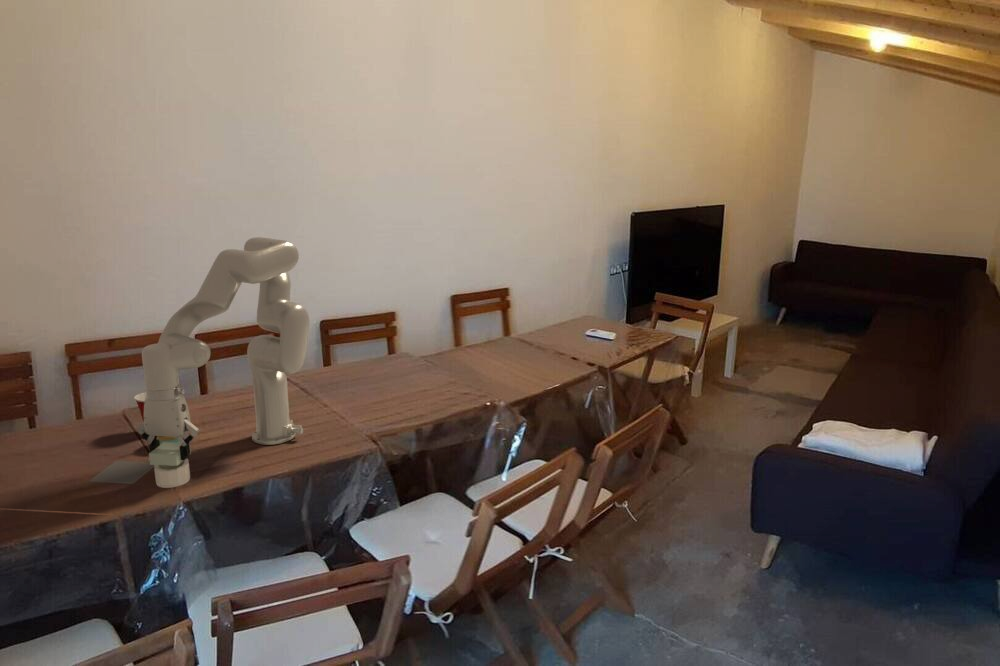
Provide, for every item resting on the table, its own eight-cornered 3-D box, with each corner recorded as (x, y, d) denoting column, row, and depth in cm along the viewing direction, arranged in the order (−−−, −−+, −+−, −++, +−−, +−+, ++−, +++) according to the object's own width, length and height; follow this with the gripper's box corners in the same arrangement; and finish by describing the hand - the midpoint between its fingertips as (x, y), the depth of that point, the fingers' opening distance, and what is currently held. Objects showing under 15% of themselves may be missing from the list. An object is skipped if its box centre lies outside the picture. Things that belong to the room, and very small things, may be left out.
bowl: (196, 475, 177) (194, 457, 176) (180, 489, 170) (178, 472, 168) (166, 473, 178) (164, 456, 176) (150, 488, 170) (147, 470, 169)
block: (191, 453, 175) (189, 443, 174) (177, 465, 168) (175, 455, 167) (165, 452, 175) (163, 441, 175) (150, 464, 169) (148, 453, 168)
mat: (158, 464, 183) (158, 462, 183) (133, 485, 171) (133, 483, 171) (116, 462, 183) (116, 460, 183) (88, 483, 172) (87, 481, 172)
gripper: (204, 389, 170) (210, 452, 175) (138, 386, 171) (146, 449, 176) (189, 399, 163) (196, 465, 168) (120, 396, 164) (129, 462, 169)
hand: (170, 456), depth 172 cm, fingers closed on block, 7 cm apart
